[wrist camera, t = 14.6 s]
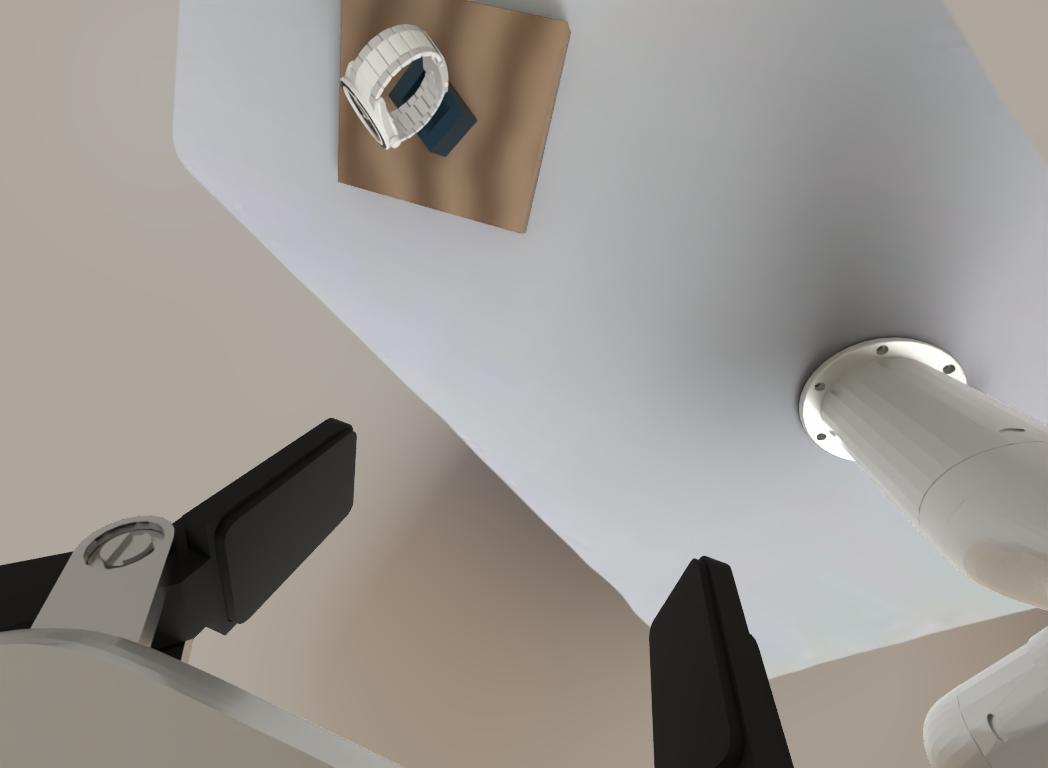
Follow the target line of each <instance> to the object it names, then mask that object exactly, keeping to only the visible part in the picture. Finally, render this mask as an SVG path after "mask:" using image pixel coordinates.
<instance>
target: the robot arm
mask: <svg viewBox="0 0 1048 768" xmlns="http://www.w3.org/2000/svg"><path fill="white" fill-rule="evenodd" d="M879 346H880V347H879ZM878 347H879V348H878ZM877 348H878V349H877ZM817 383H818V384H817ZM816 384H817V385H816ZM799 416H800V419H801V423H802V426H803V427H804V429H805V431H806V432H807V434H808V435H809V436H810V438H811V439H812V440H813V441H814V442H815V443H816V444H817V445H818V446H820V447H821V448H822V449H823V450H825V451H827V452H829V453H831V454H833V455H835V456H838V457H841V458H844V459H847V460H853V461H855V462H856V463H857V464H858V465H859V466H860V467H861V468H862V469H863V471H864V472H865V473H866V474H867V475H868V476H869V477H870V478H871V479H872V480H873V482H874V483H875V484H876V485H877V486H878V487H879V488H880V489H881V490H882V491H883V493H884V494H885V495H886V496H887V497H888V498H889V499H890V500H891V501H892V502H893V504H894V505H895V506H896V507H897V508H898V509H899V510H900V511H901V512H902V513H903V515H904V516H905V517H906V518H907V519H908V520H909V521H910V522H911V523H912V524H913V526H914V527H915V528H916V529H917V530H918V531H919V532H920V533H921V534H922V535H923V536H924V538H925V539H926V540H927V541H928V542H929V543H930V544H931V545H932V546H933V547H934V548H935V549H936V550H937V551H938V552H939V554H940V555H941V556H942V557H943V558H944V559H945V560H946V561H947V562H948V563H949V564H951V565H952V566H953V567H954V568H955V569H956V570H958V571H959V572H960V573H962V574H963V575H965V576H966V577H967V578H969V579H970V580H972V581H974V582H976V583H977V584H979V585H981V586H983V587H985V588H987V589H988V590H991V591H993V592H995V593H997V594H1000V595H1002V596H1005V597H1008V598H1010V599H1013V600H1015V601H1018V602H1021V603H1024V604H1028V605H1031V606H1034V607H1037V608H1041V609H1044V610H1048V425H1046V424H1044V423H1042V422H1040V421H1038V420H1036V419H1034V418H1032V417H1030V416H1028V415H1026V414H1024V413H1022V412H1020V411H1018V410H1016V409H1014V408H1012V407H1010V406H1008V405H1006V404H1004V403H1002V402H1000V401H998V400H996V399H994V398H992V397H990V396H988V395H986V394H984V393H982V392H980V391H978V390H976V389H974V388H972V387H970V386H968V384H967V378H966V375H965V373H964V371H963V369H962V367H961V366H960V364H959V363H958V362H957V361H956V360H955V359H954V358H953V357H952V356H951V355H949V354H948V353H946V352H945V351H943V350H942V349H940V348H938V347H935V346H933V345H931V344H928V343H925V342H922V341H918V340H915V339H908V338H899V337H894V338H879V339H874V340H869V341H864V342H862V343H859V344H856V345H853V346H850V347H848V348H846V349H844V350H842V351H840V352H838V353H836V354H835V355H833V356H832V357H830V358H829V359H828V360H826V361H825V362H824V363H822V364H821V365H820V366H819V367H818V368H817V369H816V370H815V371H814V372H813V374H812V375H811V376H810V378H809V379H808V381H807V382H806V384H805V386H804V388H803V391H802V393H801V396H800V402H799ZM356 440H357V435H356V433H355V432H353V428H352V426H351V425H350V424H347V423H345V422H342V421H339V420H337V419H334V418H329V419H327V420H325V421H324V422H322V423H321V424H319V425H318V426H316V427H315V428H313V429H312V430H310V431H309V432H307V433H306V434H304V435H303V436H301V437H300V438H298V439H297V440H296V441H294V442H292V443H291V444H289V445H288V446H286V447H285V448H283V449H282V450H280V451H279V452H277V453H276V454H274V455H273V456H271V457H270V458H268V459H267V460H265V461H264V462H262V463H261V464H259V465H258V466H256V467H255V468H253V469H252V470H250V471H249V472H247V473H246V474H244V475H243V476H241V477H240V478H239V479H237V480H235V481H234V482H232V483H231V484H229V485H228V486H226V487H225V488H223V489H222V490H220V491H219V492H217V493H216V494H214V495H213V496H211V497H210V498H208V499H207V500H205V501H204V502H202V503H201V504H199V505H198V506H196V507H195V508H193V509H192V510H190V511H189V512H187V513H186V514H184V515H183V516H182V517H181V518H180V519H178V520H177V521H175V522H174V523H173V524H171V522H170V521H168V520H166V519H164V518H162V517H156V516H137V517H132V518H127V519H122V520H120V521H117V522H114V523H111V524H109V525H106V526H105V527H103V528H101V529H99V530H97V531H95V532H93V533H92V534H91V535H89V536H88V537H87V538H86V539H84V540H83V541H82V542H81V543H80V544H79V545H78V547H77V548H76V549H75V550H74V551H73V552H68V553H63V554H58V555H52V556H47V557H42V558H37V559H32V560H27V561H21V562H16V563H11V564H6V565H1V566H0V768H405V767H403V766H401V765H399V764H397V763H394V762H392V761H391V760H389V759H386V758H384V757H382V756H380V755H378V754H376V753H374V752H372V751H370V750H368V749H366V748H364V747H362V746H360V745H357V744H355V743H353V742H351V741H349V740H347V739H345V738H343V737H341V736H339V735H337V734H335V733H333V732H331V731H328V730H326V729H324V728H322V727H320V726H318V725H316V724H314V723H312V722H310V721H308V720H306V719H304V718H301V717H299V716H297V715H295V714H293V713H291V712H289V711H287V710H285V709H283V708H280V707H278V706H276V705H274V704H272V703H270V702H268V701H266V700H264V699H262V698H259V697H257V696H255V695H253V694H251V693H249V692H247V691H245V690H243V689H241V688H239V687H236V686H234V685H232V684H230V683H228V682H226V681H224V680H222V679H220V678H217V677H215V676H213V675H211V674H209V673H206V672H204V671H202V670H199V669H197V668H195V667H193V666H191V665H188V661H189V656H190V652H191V648H192V643H193V639H194V638H195V637H196V636H197V635H198V634H199V633H200V632H201V631H202V630H203V629H204V628H205V627H208V628H210V629H212V630H214V631H217V632H219V633H221V634H223V635H226V634H227V633H228V632H229V631H230V630H231V629H232V628H233V627H234V626H235V625H236V624H237V623H238V624H241V623H244V622H245V621H247V620H248V619H249V618H250V617H251V616H252V615H253V614H254V613H255V612H256V611H257V610H258V609H259V608H260V607H261V606H262V604H263V603H264V602H265V601H266V600H267V599H268V598H269V597H270V596H271V595H272V594H273V593H274V592H275V591H276V590H277V589H278V588H279V587H280V586H281V584H282V583H283V582H284V581H285V580H286V579H287V578H288V577H289V576H290V575H291V574H292V573H293V572H294V571H295V570H296V569H297V567H299V566H300V564H301V563H302V562H303V561H304V560H305V559H306V558H307V557H308V556H309V555H310V554H311V553H312V552H313V551H314V550H315V549H316V548H317V547H318V545H320V544H321V542H322V541H323V540H324V539H325V538H326V537H327V536H328V535H329V534H330V533H331V532H332V531H333V530H334V529H335V527H337V526H338V525H339V524H340V522H341V521H342V520H343V519H344V518H345V517H346V516H347V515H348V514H349V512H350V510H351V508H352V505H353V495H354V476H355V457H356ZM649 642H650V644H649V645H650V667H651V668H650V669H651V691H652V692H651V693H652V716H653V741H654V766H655V768H794V766H793V763H792V760H791V756H790V753H789V749H788V746H787V742H786V739H785V736H784V732H783V729H782V726H781V722H780V719H779V715H778V712H777V709H776V705H775V702H774V698H773V695H772V691H771V688H770V685H769V681H768V678H767V674H766V671H765V668H764V664H763V661H762V657H761V654H760V651H759V647H758V645H757V642H756V640H755V639H754V637H753V636H752V635H751V634H749V631H748V627H747V624H746V620H745V616H744V613H743V609H742V606H741V602H740V599H739V595H738V592H737V588H736V584H735V581H734V577H733V574H732V570H731V568H730V566H729V565H728V564H726V563H723V562H720V561H718V560H715V559H712V558H709V557H707V556H702V557H701V558H700V559H699V560H697V559H692V561H691V562H690V563H689V565H688V567H687V568H686V570H685V571H684V573H683V575H682V576H681V578H680V579H679V581H678V583H677V584H676V586H675V587H674V589H673V591H672V592H671V594H670V595H669V597H668V598H667V600H666V602H665V603H664V605H663V606H662V608H661V610H660V611H659V613H658V614H657V616H656V618H655V619H654V621H653V623H652V625H651V628H650V634H649ZM923 738H924V745H925V749H926V753H927V756H928V759H929V762H930V765H931V767H932V768H1048V626H1047V627H1046V628H1044V629H1043V630H1041V631H1040V632H1038V633H1037V634H1035V635H1034V636H1033V637H1031V638H1030V639H1029V641H1028V643H1026V644H1025V645H1023V646H1022V647H1020V648H1018V649H1017V650H1015V651H1014V652H1012V653H1010V654H1009V655H1007V656H1005V657H1004V658H1002V659H1001V660H999V661H997V662H996V663H995V664H993V665H991V666H989V667H988V668H986V669H985V670H983V671H982V672H980V673H978V674H977V675H975V676H973V677H972V678H970V679H969V680H967V681H965V682H964V683H962V684H961V685H959V686H957V687H956V688H954V689H953V690H951V691H950V692H948V693H947V694H946V695H944V696H943V697H942V698H940V699H939V700H938V701H937V702H936V703H935V704H934V705H933V706H932V708H931V709H930V711H929V712H928V714H927V716H926V719H925V722H924V726H923Z"/></svg>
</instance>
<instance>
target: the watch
mask: <svg viewBox="0 0 1048 768" xmlns="http://www.w3.org/2000/svg"><path fill="white" fill-rule="evenodd" d="M368 45H369V46H370V47H369V46H368ZM368 45H366V46H365V47H364V48H363V49H362V50H361V52H360V53H359V56H358V57H357V58H356V59H355V61H354V60H353V61H351V62H350V63H349V64H348V67H347V69H346V73H345V78H344V77H342V78H340V84H341V87H342V89H343V91H344V93H345V95H346V97H347V99H348V100H349V102H350V104H351V106H352V107H353V109H354V110H355V112H356V114H357V115H358V117H359V118H360V120H361V121H362V123H363V124H364V125H365V127H366V128H367V129H368V131H369V132H370V133H371V135H372V136H373V137H374V138H375V140H376V141H377V142H378V143H379V144H380V145H381V146H382V147H383V148H384V149H386V150H387V149H389V148H390V147H393V148H397V147H398V146H399V145H400V144H401V142H402V141H404V140H406V139H409V138H410V137H412V136H413V135H414V134H415V132H416V134H417V135H418V136H419V138H420V139H421V140H422V142H423V143H424V144H425V146H426V147H427V148H428V150H429V151H430V152H431V153H434V154H438V155H441V156H444V157H446V156H447V155H448V154H449V153H450V152H451V151H452V149H453V148H454V147H455V146H456V145H457V144H458V143H459V141H460V140H461V139H462V138H463V137H464V136H465V135H466V133H467V132H468V131H469V130H470V129H471V128H472V127H473V126H474V124H475V123H476V122H477V121H478V120H477V119H476V117H475V116H474V115H473V113H472V112H471V110H470V109H469V108H468V106H467V105H466V103H465V102H464V101H463V99H462V98H461V96H460V95H459V94H458V92H457V91H456V89H455V88H454V87H453V85H452V84H451V83H450V81H449V80H448V69H447V65H446V62H445V59H444V57H443V56H442V54H441V53H440V51H439V50H438V48H437V47H436V45H435V44H434V43H433V41H432V40H431V38H430V37H429V36H428V34H427V33H426V32H425V31H422V30H421V29H420V28H418V27H417V26H415V25H410V24H403V25H397V26H394V27H391V28H388V29H386V30H384V31H382V32H381V33H379V35H377V36H375V37H374V38H373V39H371V40H370V41H369V42H368ZM371 49H372V50H371ZM377 50H378V51H379V52H378V51H377ZM380 54H381V55H382V56H381V55H380ZM383 58H384V59H385V60H384V59H383ZM412 60H413V62H412ZM386 62H387V63H388V64H387V63H386ZM411 62H412V63H411ZM409 63H411V65H410V66H409V67H408V69H407V70H406V71H405V73H404V74H403V76H402V77H401V78H400V80H399V81H398V82H397V84H396V85H395V86H394V88H393V89H392V91H391V92H390V93H389V95H388V96H389V98H390V99H391V100H392V102H393V103H394V104H395V106H396V107H397V108H398V109H396V110H394V111H392V112H390V113H389V111H388V109H387V107H386V103H385V101H384V100H383V98H382V97H381V98H380V95H381V94H382V92H383V90H384V89H383V88H385V87H386V86H387V84H388V83H389V82H390V80H391V79H392V77H394V76H395V75H396V74H397V73H398V72H399V71H400V70H401V66H402V67H403V68H404V67H405V66H406V65H408V64H409ZM388 65H389V66H388ZM388 72H389V73H390V74H389V73H388ZM391 76H392V77H391Z"/></svg>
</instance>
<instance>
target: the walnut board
mask: <svg viewBox="0 0 1048 768" xmlns="http://www.w3.org/2000/svg"><path fill="white" fill-rule="evenodd" d="M403 24H410V25H415V26H417V27H418V28H420V29H421V30H422V31H425V32H426V33H427V34H428V36H429V37H430V38H431V40H432V41H433V43H434V44H435V45H436V47H437V48H438V50H439V51H440V53H441V54H442V56H443V57H444V59H445V62H446V65H447V69H448V80H449V81H450V83H451V84H452V85H453V87H454V88H455V89H456V91H457V92H458V94H459V95H460V96H461V98H462V99H463V101H464V102H465V103H466V105H467V106H468V108H469V109H470V110H471V112H472V113H473V115H474V116H475V117H476V119H477V120H478V121H477V122H476V123H475V124H474V126H473V127H472V128H471V129H470V130H469V131H468V132H467V133H466V135H465V136H464V137H463V138H462V139H461V140H460V141H459V143H458V144H457V145H456V146H455V147H454V148H453V149H452V151H451V152H450V153H449V154H448V155H447V156H446V157H444V156H441V155H438V154H434V153H431V152H430V151H429V150H428V148H427V147H426V146H425V144H424V143H423V142H422V140H421V139H420V138H419V136H418V135H417V134H416V132H415V134H414V135H413V136H412V137H410V138H409V139H406V140H404V141H402V142H401V144H400V145H399V146H398V147H397V148H393V147H390V148H389V149H387V150H386V149H384V148H383V147H382V146H381V145H380V144H379V143H378V142H377V141H376V140H375V138H374V137H373V136H372V135H371V133H370V132H369V131H368V129H367V128H366V127H365V125H364V124H363V123H362V121H361V120H360V118H359V117H358V115H357V114H356V112H355V110H354V109H353V107H352V106H351V104H350V102H349V100H348V99H347V97H346V95H345V93H344V91H343V89H342V87H341V84H340V111H339V161H338V182H341V183H344V184H348V185H351V186H355V187H358V188H362V189H365V190H369V191H373V192H376V193H380V194H383V195H387V196H390V197H394V198H397V199H401V200H404V201H408V202H411V203H415V204H418V205H422V206H426V207H429V208H433V209H436V210H440V211H443V212H447V213H450V214H454V215H457V216H461V217H464V218H468V219H471V220H475V221H479V222H482V223H486V224H489V225H493V226H496V227H500V228H503V229H507V230H510V231H514V232H517V233H526V229H527V224H528V220H529V216H530V211H531V207H532V202H533V198H534V193H535V189H536V184H537V180H538V176H539V171H540V167H541V162H542V158H543V153H544V149H545V144H546V140H547V136H548V131H549V127H550V122H551V118H552V113H553V109H554V104H555V100H556V96H557V91H558V87H559V82H560V78H561V73H562V69H563V64H564V60H565V56H566V51H567V47H568V42H569V38H570V33H571V32H570V29H569V26H568V23H567V22H565V21H560V20H555V19H551V18H546V17H541V16H536V15H531V14H527V13H522V12H517V11H512V10H507V9H502V8H498V7H493V6H488V5H483V4H478V3H474V2H469V1H464V0H342V12H341V62H340V78H342V77H344V78H345V73H346V69H347V67H348V64H349V63H350V62H351V61H353V60H354V61H355V59H356V58H357V57H358V56H359V53H360V52H361V50H362V49H363V48H364V47H365V46H366V45H368V42H369V41H370V40H371V39H373V38H374V37H375V36H377V35H379V33H381V32H382V31H384V30H386V29H388V28H391V27H394V26H397V25H403ZM368 46H369V45H368ZM369 47H370V46H369ZM371 50H372V49H371ZM377 51H378V50H377ZM378 52H379V51H378ZM380 55H381V54H380ZM381 56H382V55H381ZM383 59H384V58H383ZM384 60H385V59H384ZM412 62H413V60H412ZM412 62H411V63H412ZM386 63H387V62H386ZM411 63H409V64H408V65H406V66H405V67H404V68H403V67H402V66H401V70H400V71H399V72H398V73H397V74H396V75H395V76H394V77H392V76H391V77H392V79H391V80H390V82H389V83H388V84H387V86H386V87H385V88H383V89H384V90H383V92H382V94H381V95H380V98H381V97H382V98H383V100H384V101H385V103H386V107H387V109H388V111H389V113H390V112H392V111H394V110H396V109H398V108H397V107H396V106H395V104H394V103H393V102H392V100H391V99H390V98H389V96H388V95H389V93H390V92H391V91H392V89H393V88H394V86H395V85H396V84H397V82H398V81H399V80H400V78H401V77H402V76H403V74H404V73H405V71H406V70H407V69H408V67H409V66H410V65H411ZM387 64H388V63H387ZM388 66H389V65H388ZM388 73H389V72H388ZM389 74H390V73H389Z"/></svg>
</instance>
